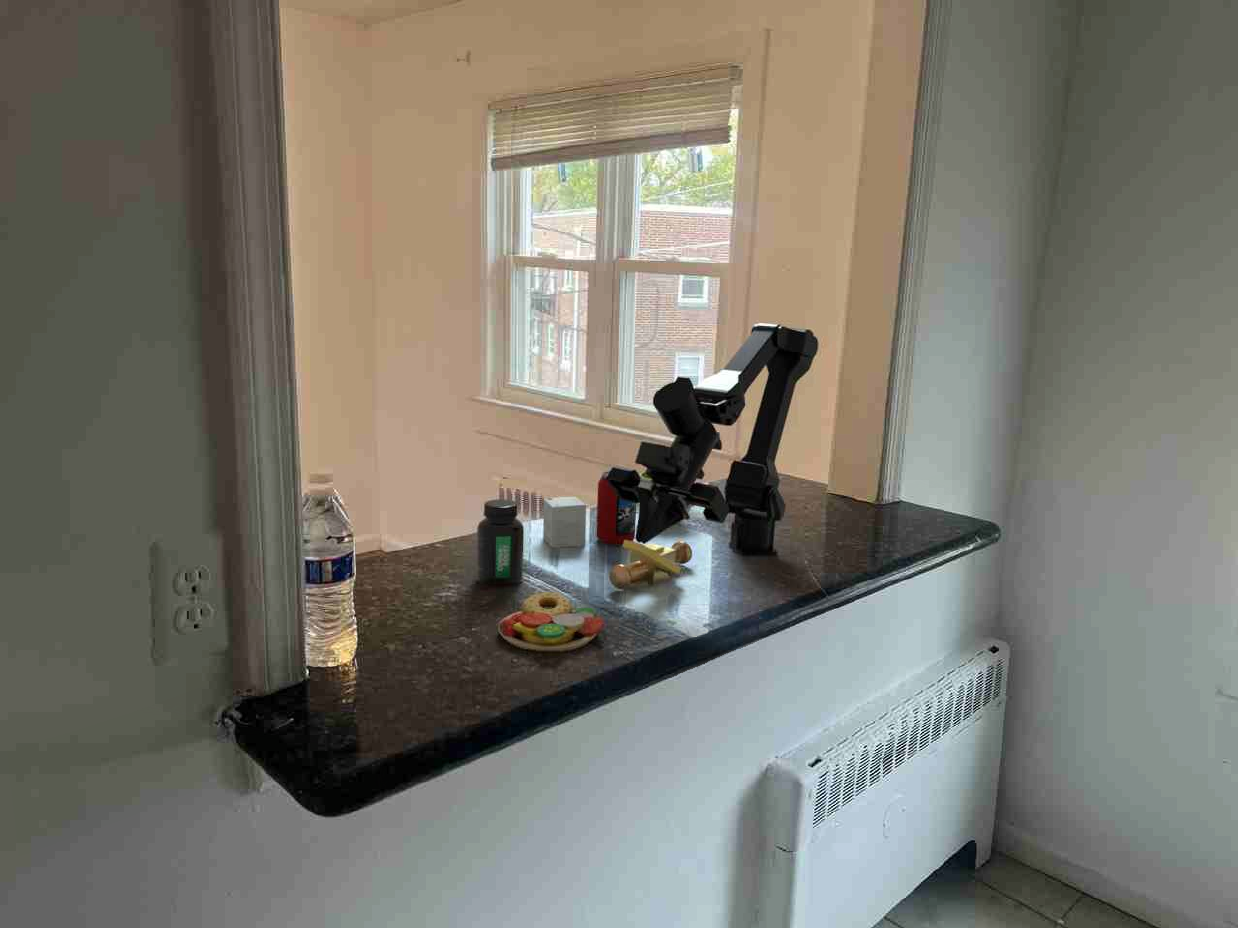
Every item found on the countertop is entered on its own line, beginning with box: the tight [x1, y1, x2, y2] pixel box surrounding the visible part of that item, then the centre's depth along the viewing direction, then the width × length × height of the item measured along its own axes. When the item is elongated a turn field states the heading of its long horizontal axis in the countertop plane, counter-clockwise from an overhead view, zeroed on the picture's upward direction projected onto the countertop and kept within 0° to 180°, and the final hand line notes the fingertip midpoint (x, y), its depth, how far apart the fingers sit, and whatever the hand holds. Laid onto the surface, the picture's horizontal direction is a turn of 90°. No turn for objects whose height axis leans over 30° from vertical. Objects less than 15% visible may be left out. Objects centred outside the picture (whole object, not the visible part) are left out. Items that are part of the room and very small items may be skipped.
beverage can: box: [596, 470, 637, 546], centre depth 155 cm, size 7×7×12 cm
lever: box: [621, 540, 683, 579], centre depth 131 cm, size 2×3×14 cm
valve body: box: [609, 540, 693, 592], centre depth 138 cm, size 18×5×5 cm, turn 142°
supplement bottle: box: [476, 498, 525, 588], centre depth 134 cm, size 7×7×12 cm
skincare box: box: [542, 496, 587, 549], centre depth 154 cm, size 6×6×7 cm
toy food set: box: [498, 591, 605, 652], centre depth 116 cm, size 13×13×3 cm
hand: (639, 541), depth 127 cm, fingers closed
